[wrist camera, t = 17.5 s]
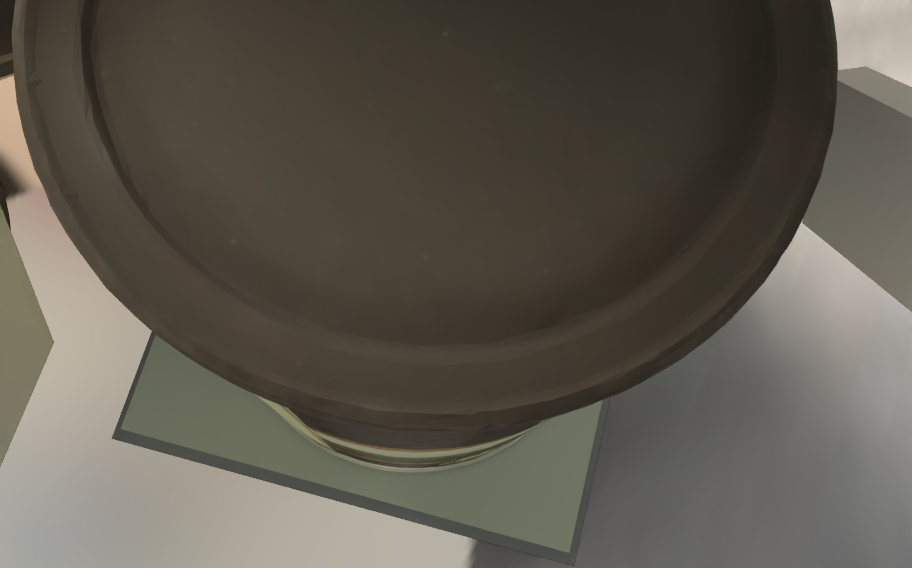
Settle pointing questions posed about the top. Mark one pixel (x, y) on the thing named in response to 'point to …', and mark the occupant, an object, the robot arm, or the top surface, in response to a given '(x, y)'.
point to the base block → (393, 493)
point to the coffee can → (428, 193)
